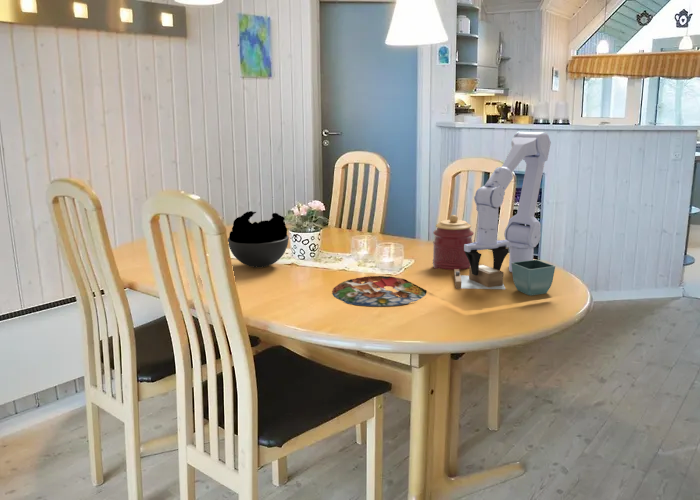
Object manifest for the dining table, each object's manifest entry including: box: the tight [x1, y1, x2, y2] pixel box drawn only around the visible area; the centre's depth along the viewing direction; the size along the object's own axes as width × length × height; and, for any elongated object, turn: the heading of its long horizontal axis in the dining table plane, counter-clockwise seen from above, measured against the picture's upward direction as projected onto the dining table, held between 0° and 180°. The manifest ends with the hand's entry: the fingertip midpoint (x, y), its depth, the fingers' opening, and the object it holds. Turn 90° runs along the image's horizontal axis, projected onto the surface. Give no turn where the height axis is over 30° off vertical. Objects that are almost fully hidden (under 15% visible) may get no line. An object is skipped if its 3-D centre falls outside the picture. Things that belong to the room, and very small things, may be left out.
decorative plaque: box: [331, 275, 428, 307], centre depth 190 cm, size 30×3×30 cm
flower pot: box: [511, 259, 556, 296], centre depth 183 cm, size 9×9×9 cm
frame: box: [468, 263, 504, 287], centre depth 193 cm, size 10×5×4 cm, turn 23°
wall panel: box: [453, 269, 506, 290], centre depth 194 cm, size 14×14×4 cm
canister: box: [432, 214, 475, 271], centre depth 212 cm, size 13×13×18 cm
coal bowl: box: [227, 210, 290, 268], centre depth 217 cm, size 20×20×19 cm
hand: (485, 273), depth 193 cm, fingers open, 7 cm apart
